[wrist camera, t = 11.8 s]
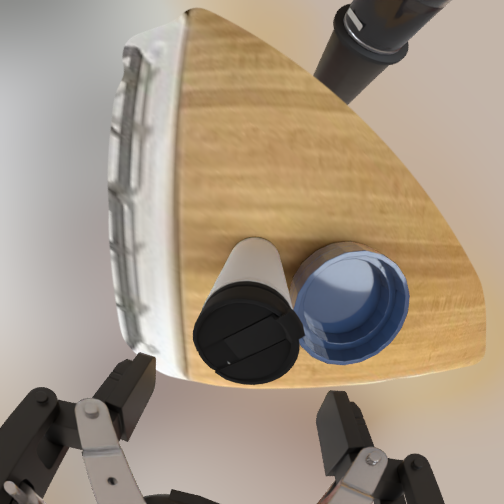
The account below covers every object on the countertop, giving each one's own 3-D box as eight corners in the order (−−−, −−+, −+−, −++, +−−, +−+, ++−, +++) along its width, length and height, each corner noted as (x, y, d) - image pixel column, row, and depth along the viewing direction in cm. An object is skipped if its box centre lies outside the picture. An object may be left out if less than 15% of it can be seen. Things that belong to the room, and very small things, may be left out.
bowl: (303, 229, 33) (312, 237, 27) (401, 253, 33) (424, 264, 27) (276, 332, 36) (279, 357, 30) (369, 345, 36) (383, 368, 30)
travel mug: (292, 268, 34) (325, 362, 14) (247, 294, 35) (229, 405, 15) (265, 225, 33) (269, 274, 13) (219, 253, 34) (166, 333, 14)
